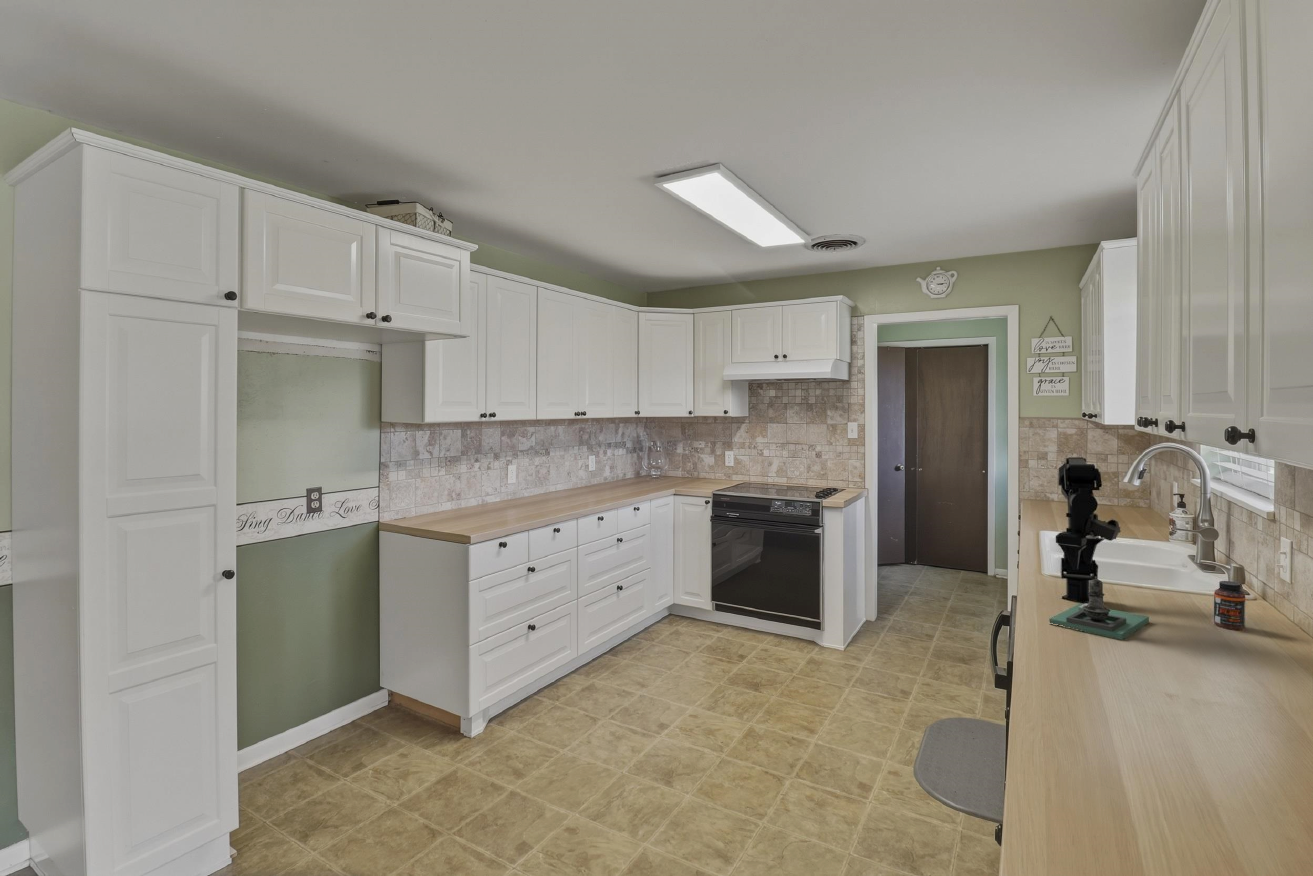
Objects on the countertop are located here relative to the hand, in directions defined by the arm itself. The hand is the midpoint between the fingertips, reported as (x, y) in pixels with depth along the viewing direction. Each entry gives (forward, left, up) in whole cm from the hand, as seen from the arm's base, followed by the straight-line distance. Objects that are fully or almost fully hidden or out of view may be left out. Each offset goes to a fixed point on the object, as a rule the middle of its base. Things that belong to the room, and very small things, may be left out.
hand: (1081, 566), depth 176 cm
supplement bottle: (-14, +28, -13) cm, 34 cm away
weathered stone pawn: (+11, +7, -12) cm, 17 cm away
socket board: (+6, +6, -13) cm, 16 cm away
